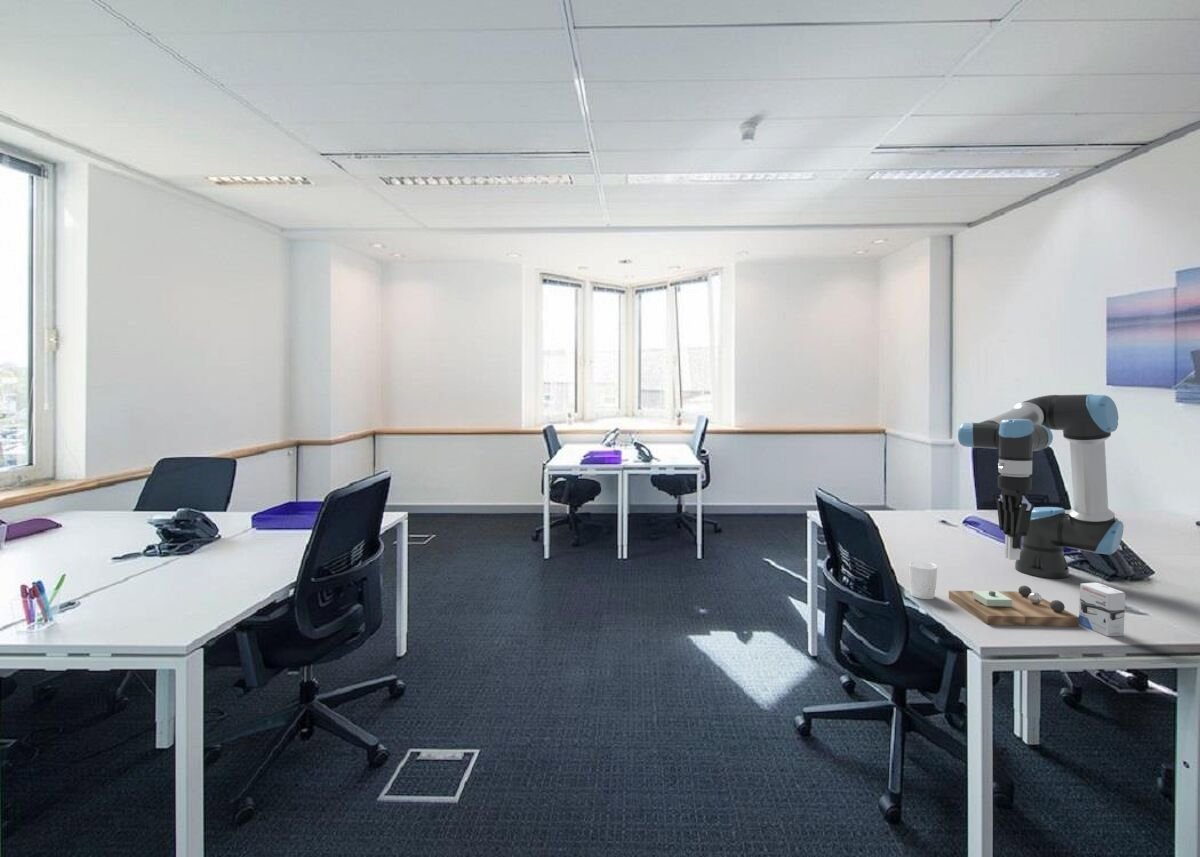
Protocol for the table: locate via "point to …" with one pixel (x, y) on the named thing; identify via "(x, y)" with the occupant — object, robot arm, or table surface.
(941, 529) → the table surface
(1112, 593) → the ink box
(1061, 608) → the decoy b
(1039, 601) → the steel ball
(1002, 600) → the mint green square lid
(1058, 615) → the wooden cutting board
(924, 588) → the white cup
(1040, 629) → the table surface
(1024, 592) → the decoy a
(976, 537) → the table surface
